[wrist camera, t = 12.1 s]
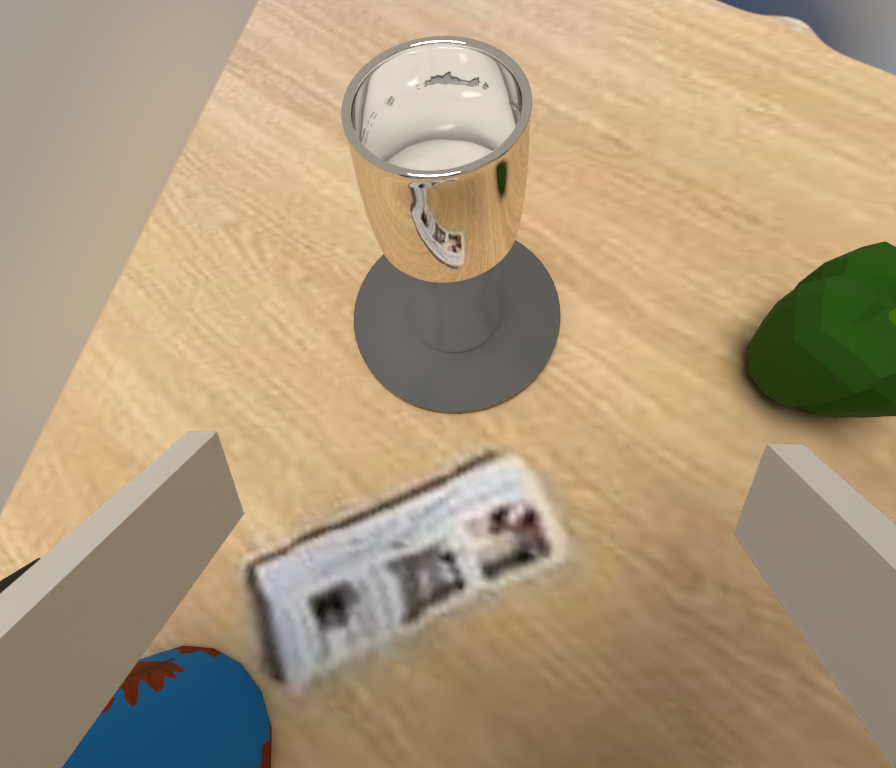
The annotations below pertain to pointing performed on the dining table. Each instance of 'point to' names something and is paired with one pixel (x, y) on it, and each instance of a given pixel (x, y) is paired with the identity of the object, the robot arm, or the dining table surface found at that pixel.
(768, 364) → the bell pepper
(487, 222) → the metal tumbler
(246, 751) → the thermos
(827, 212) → the dining table surface
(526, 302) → the coaster
